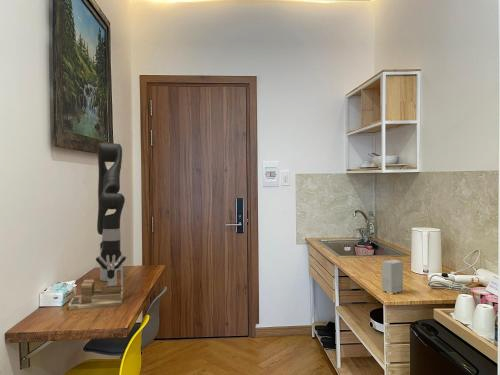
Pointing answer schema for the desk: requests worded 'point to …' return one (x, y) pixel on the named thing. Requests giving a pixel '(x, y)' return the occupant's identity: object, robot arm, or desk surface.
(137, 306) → the desk surface
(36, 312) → the desk surface
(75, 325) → the desk surface
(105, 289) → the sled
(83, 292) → the tunnel board
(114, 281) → the skincare box
